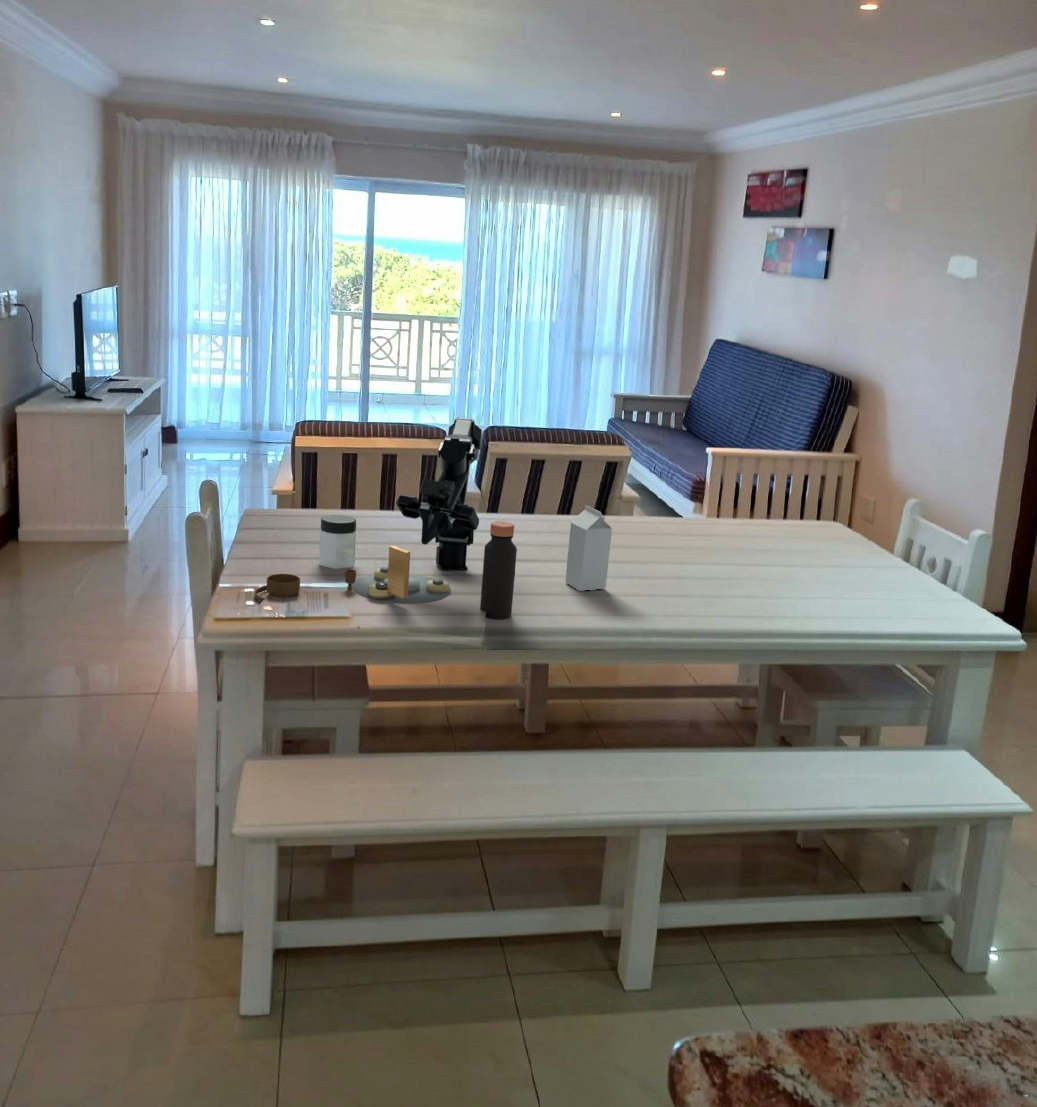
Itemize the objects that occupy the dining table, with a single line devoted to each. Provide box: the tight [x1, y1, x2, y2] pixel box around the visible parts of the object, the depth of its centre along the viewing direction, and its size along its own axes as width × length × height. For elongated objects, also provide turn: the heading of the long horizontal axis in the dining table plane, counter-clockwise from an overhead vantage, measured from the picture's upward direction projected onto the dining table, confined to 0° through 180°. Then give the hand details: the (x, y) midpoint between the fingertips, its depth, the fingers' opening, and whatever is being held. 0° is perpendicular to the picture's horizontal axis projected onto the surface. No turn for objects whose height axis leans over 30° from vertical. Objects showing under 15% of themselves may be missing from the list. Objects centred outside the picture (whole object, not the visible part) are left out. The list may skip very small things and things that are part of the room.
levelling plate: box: [351, 566, 452, 605], centre depth 241 cm, size 22×22×3 cm
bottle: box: [479, 520, 518, 620], centre depth 230 cm, size 7×7×20 cm
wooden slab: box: [367, 545, 411, 600], centre depth 231 cm, size 11×6×12 cm, turn 45°
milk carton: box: [564, 504, 613, 592], centre depth 255 cm, size 7×7×19 cm
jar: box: [318, 514, 357, 570], centre depth 254 cm, size 9×8×12 cm
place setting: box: [254, 569, 357, 602], centre depth 231 cm, size 18×20×6 cm
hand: (423, 543), depth 239 cm, fingers closed
